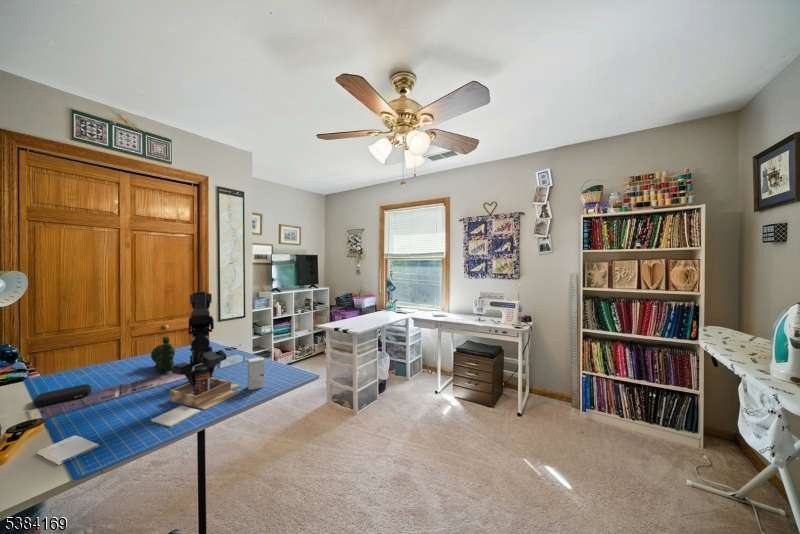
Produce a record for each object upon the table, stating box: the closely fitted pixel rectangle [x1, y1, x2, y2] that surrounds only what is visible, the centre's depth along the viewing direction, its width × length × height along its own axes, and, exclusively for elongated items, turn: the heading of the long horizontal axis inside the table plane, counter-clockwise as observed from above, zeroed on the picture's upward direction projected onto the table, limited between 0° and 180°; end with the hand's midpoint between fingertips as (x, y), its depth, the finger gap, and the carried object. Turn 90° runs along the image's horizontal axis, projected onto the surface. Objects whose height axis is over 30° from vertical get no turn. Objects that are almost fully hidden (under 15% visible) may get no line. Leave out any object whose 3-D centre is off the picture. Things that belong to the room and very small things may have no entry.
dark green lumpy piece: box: [150, 336, 176, 374], centre depth 145 cm, size 9×19×25 cm
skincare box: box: [247, 356, 265, 391], centre depth 126 cm, size 6×4×12 cm
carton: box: [169, 377, 242, 411], centre depth 119 cm, size 20×20×4 cm
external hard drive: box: [47, 434, 100, 462], centre depth 84 cm, size 2×8×12 cm
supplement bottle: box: [191, 366, 211, 396], centre depth 118 cm, size 6×6×11 cm
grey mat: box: [150, 405, 201, 428], centre depth 102 cm, size 10×10×1 cm
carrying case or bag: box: [32, 383, 92, 407], centre depth 114 cm, size 11×3×15 cm
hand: (201, 383), depth 118 cm, fingers closed on supplement bottle, 6 cm apart
